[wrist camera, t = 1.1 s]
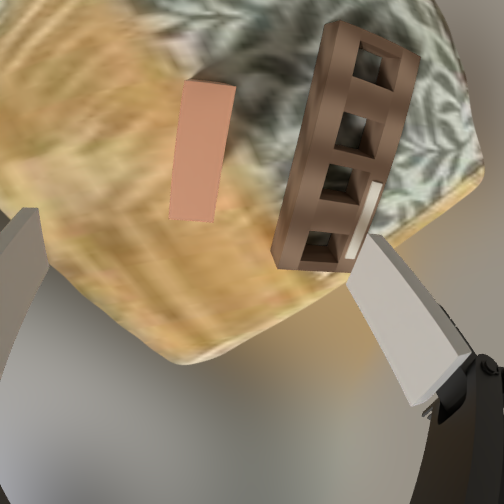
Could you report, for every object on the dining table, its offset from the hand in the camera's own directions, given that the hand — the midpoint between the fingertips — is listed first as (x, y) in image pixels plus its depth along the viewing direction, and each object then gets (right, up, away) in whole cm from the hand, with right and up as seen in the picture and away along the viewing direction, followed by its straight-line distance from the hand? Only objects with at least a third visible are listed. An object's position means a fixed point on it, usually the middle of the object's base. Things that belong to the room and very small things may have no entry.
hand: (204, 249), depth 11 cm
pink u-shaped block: (-3, +11, +15) cm, 19 cm away
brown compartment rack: (+11, +10, +18) cm, 23 cm away
